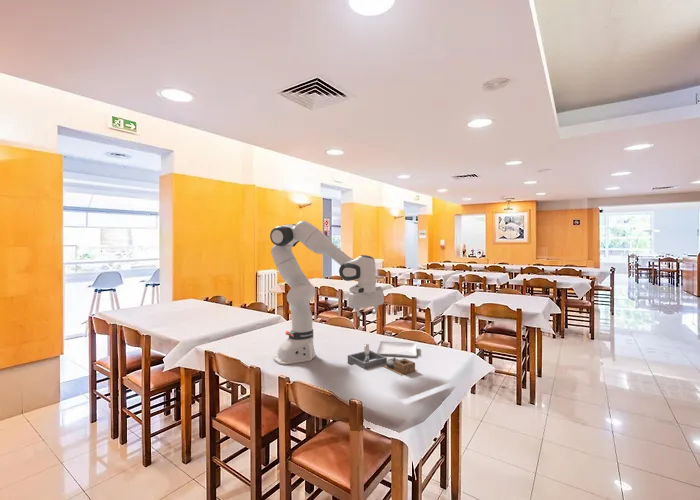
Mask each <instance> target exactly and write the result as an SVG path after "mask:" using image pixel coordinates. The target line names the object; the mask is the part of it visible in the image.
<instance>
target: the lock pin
mask: <svg viewBox="0 0 700 500" xmlns="http://www.w3.org/2000/svg"><path fill="white" fill-rule="evenodd" d="M369 350H370V344H367V343H365V344H364V350H363V352H364V361H365V362H369V361H370V360H369ZM365 362H364V363H365Z"/></svg>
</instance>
